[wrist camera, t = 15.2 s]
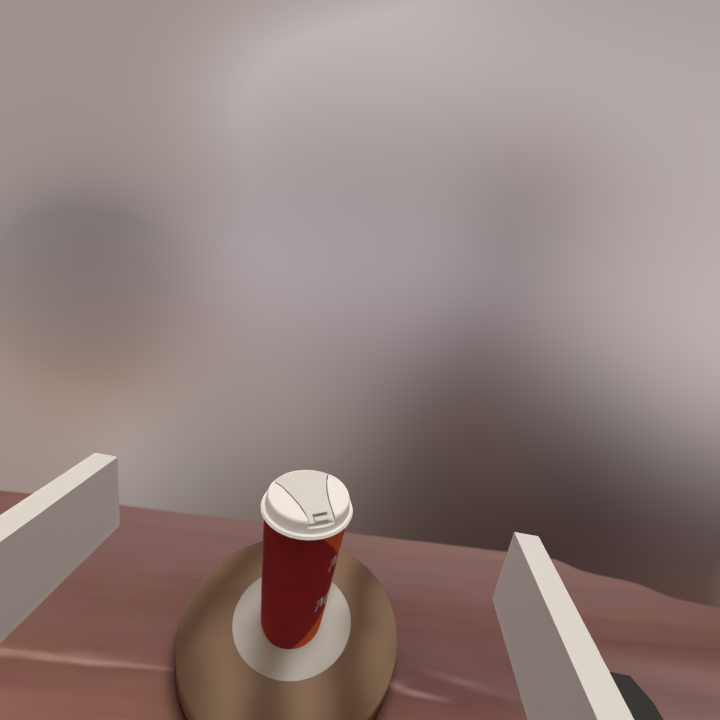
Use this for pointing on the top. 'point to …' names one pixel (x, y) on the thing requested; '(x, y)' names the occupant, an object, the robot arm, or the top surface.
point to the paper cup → (300, 553)
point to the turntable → (284, 666)
